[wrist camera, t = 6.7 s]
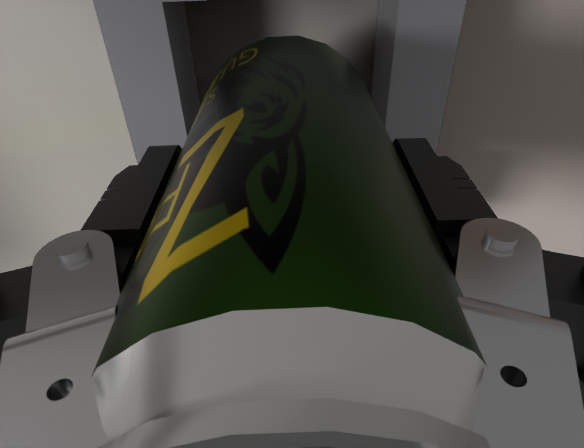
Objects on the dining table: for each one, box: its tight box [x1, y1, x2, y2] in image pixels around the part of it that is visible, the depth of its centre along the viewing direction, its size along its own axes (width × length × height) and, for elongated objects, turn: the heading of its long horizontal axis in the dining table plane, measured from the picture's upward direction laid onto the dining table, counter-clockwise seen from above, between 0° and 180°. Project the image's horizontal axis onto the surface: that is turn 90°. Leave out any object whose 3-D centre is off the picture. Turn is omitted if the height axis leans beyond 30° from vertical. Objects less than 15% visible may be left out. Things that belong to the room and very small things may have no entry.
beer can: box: [91, 36, 490, 448], centre depth 9 cm, size 5×5×12 cm
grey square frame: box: [93, 0, 467, 164], centre depth 15 cm, size 11×11×5 cm
